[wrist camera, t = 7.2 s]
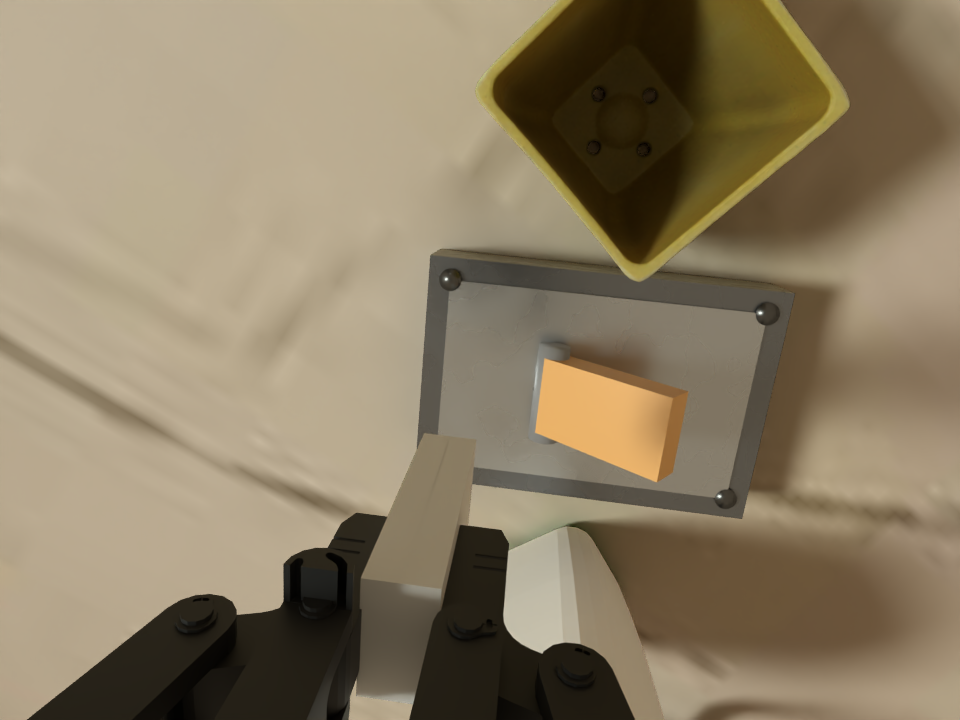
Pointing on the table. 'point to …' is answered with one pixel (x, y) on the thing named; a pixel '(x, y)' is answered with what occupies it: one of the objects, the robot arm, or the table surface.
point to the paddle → (606, 413)
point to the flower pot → (661, 112)
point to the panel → (608, 342)
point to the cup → (577, 609)
